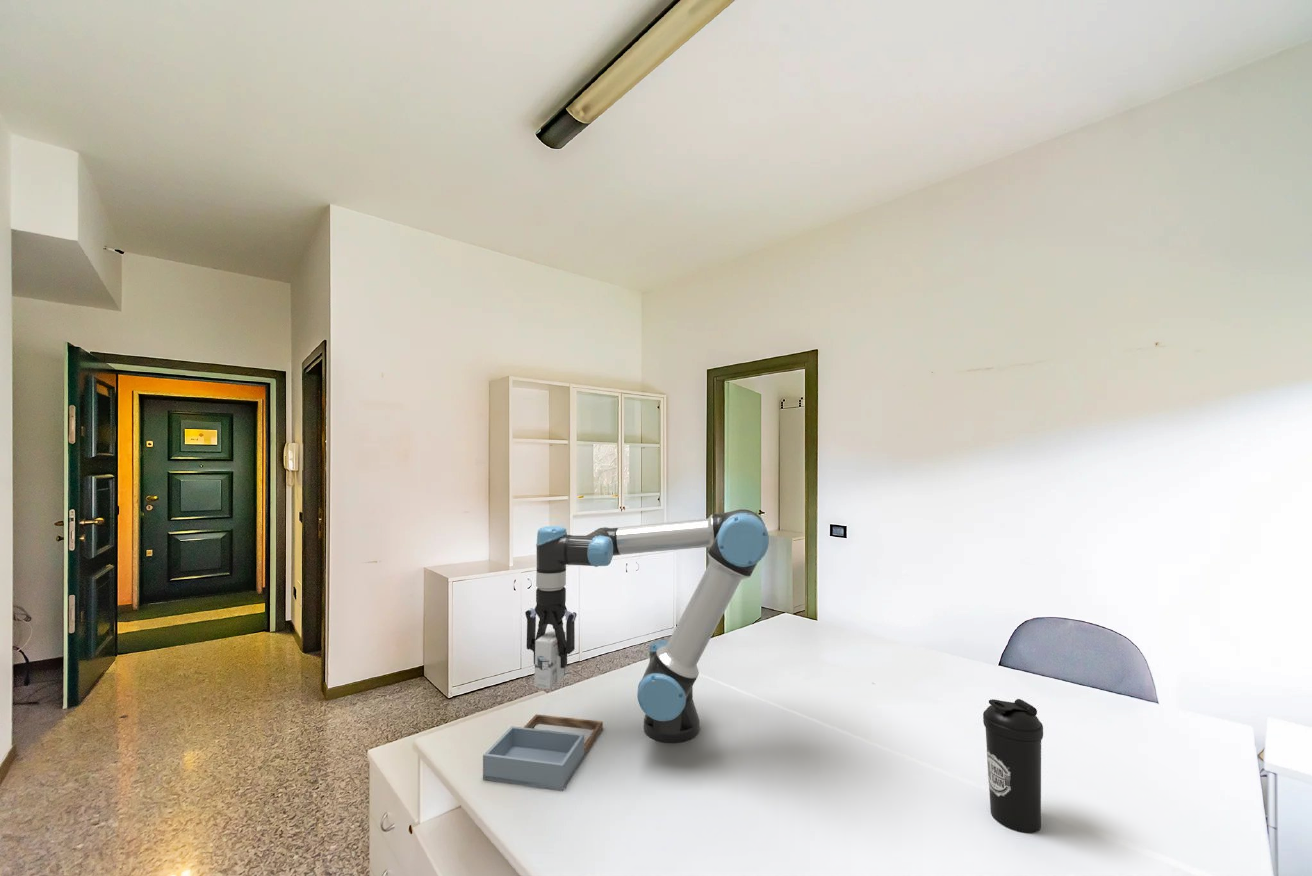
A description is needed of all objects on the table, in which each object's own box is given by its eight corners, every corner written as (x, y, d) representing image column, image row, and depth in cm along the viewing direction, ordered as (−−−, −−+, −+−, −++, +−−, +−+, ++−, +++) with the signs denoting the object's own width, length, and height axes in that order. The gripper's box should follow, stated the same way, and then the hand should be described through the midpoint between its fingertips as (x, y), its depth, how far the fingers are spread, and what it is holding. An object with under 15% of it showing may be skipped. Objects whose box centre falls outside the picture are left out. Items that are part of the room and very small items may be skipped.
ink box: (548, 674, 143) (549, 629, 143) (566, 676, 142) (566, 630, 142) (533, 687, 135) (533, 640, 135) (552, 689, 133) (552, 641, 134)
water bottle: (974, 804, 113) (971, 693, 114) (1020, 801, 114) (1016, 691, 115) (1010, 838, 103) (1006, 716, 104) (1059, 834, 104) (1055, 713, 105)
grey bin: (584, 757, 132) (584, 734, 133) (562, 790, 119) (562, 765, 119) (511, 748, 137) (511, 726, 137) (482, 779, 123) (482, 755, 124)
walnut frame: (602, 728, 146) (602, 721, 146) (585, 756, 133) (585, 748, 133) (535, 721, 150) (535, 714, 150) (512, 747, 137) (512, 739, 137)
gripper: (589, 586, 140) (588, 677, 139) (527, 581, 145) (525, 669, 144) (577, 593, 133) (576, 689, 132) (512, 588, 138) (511, 680, 137)
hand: (550, 678), depth 138 cm, fingers closed on ink box, 5 cm apart
